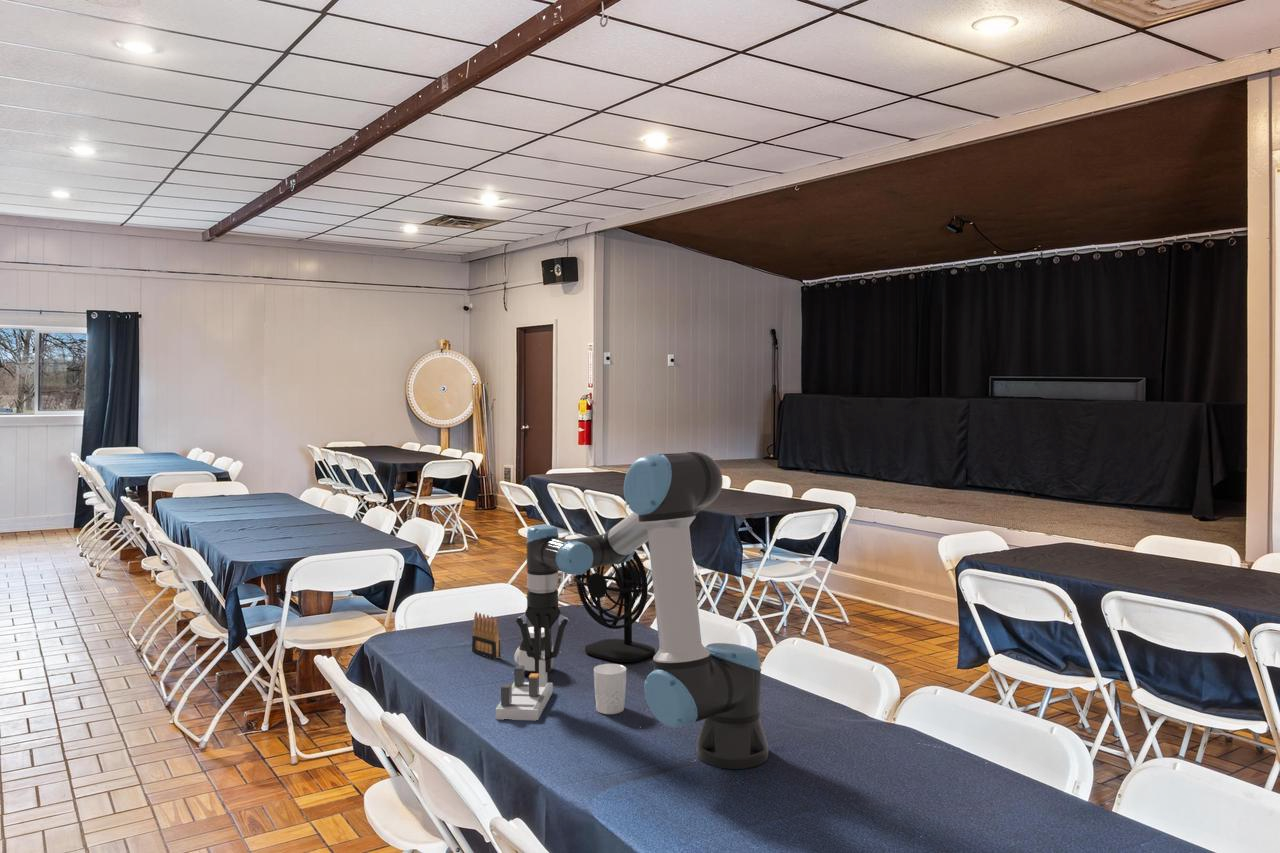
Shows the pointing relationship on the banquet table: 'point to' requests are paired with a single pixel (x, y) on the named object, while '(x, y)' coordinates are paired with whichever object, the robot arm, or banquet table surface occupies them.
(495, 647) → the ammunition clip
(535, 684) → the handle
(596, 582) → the desk fan
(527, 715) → the breaker panel
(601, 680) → the white cup
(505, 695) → the handle
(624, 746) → the banquet table surface
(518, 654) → the spread jar
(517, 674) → the handle
